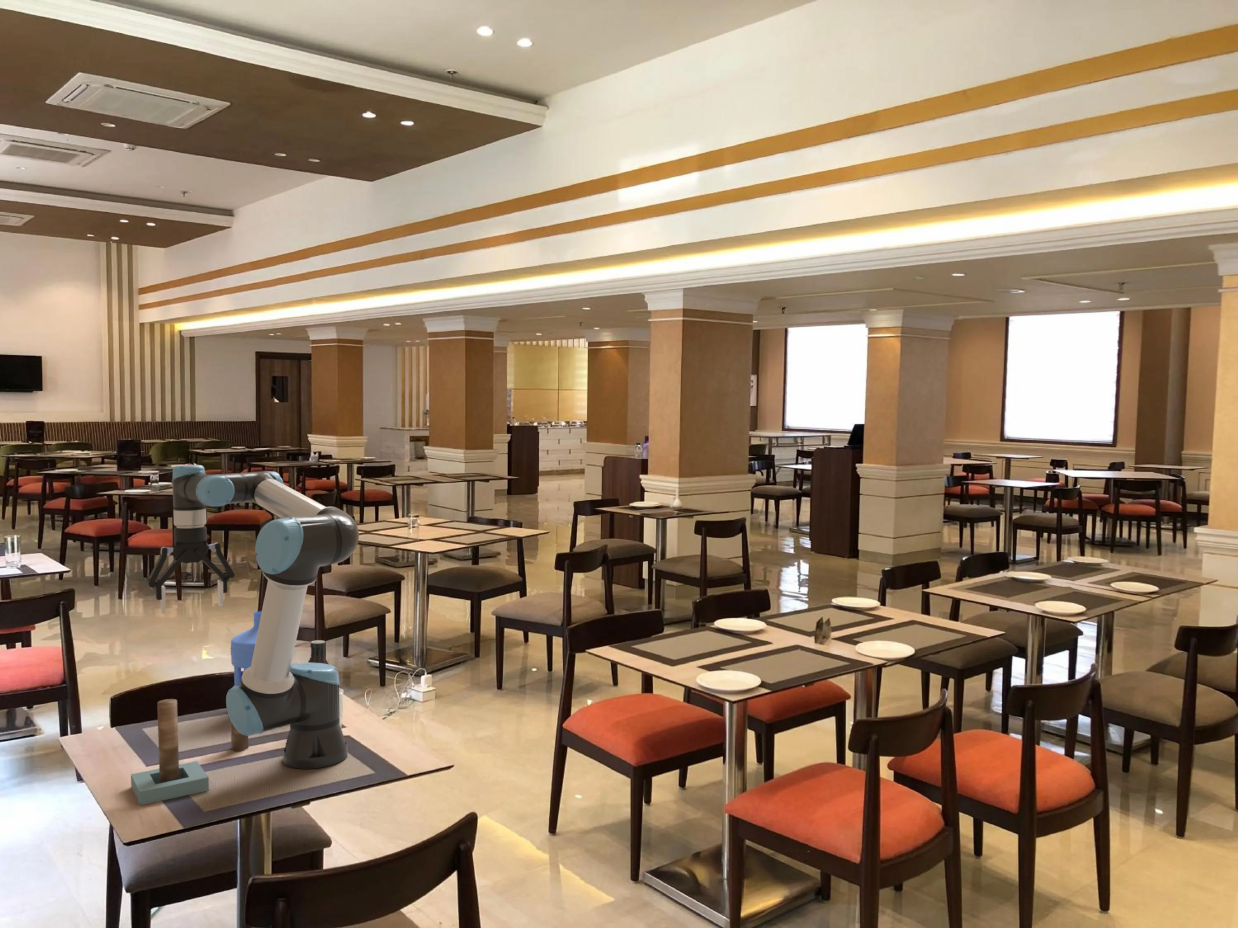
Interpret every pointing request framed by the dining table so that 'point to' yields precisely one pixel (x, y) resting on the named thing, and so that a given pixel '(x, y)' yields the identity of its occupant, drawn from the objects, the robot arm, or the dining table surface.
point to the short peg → (238, 740)
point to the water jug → (244, 649)
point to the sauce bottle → (318, 652)
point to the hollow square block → (169, 784)
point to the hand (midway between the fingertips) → (192, 609)
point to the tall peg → (168, 740)
